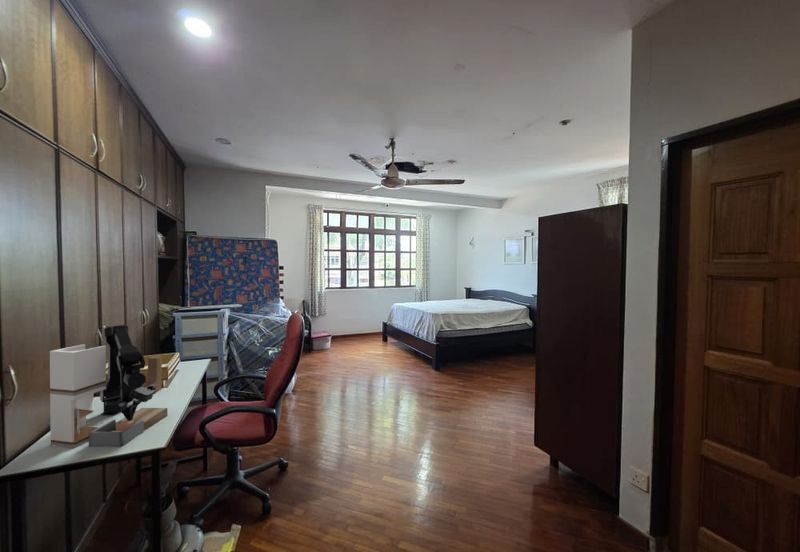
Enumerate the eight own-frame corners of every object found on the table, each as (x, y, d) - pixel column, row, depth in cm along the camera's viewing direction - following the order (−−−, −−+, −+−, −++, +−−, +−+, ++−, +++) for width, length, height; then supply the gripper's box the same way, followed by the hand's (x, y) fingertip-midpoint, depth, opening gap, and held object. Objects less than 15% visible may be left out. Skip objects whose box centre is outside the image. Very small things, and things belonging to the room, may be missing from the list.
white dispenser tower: (74, 448, 124) (73, 352, 123) (50, 445, 126) (49, 351, 125) (106, 433, 136) (105, 345, 135) (84, 430, 137) (83, 344, 137)
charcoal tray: (88, 446, 126) (88, 433, 125) (113, 432, 137) (113, 419, 136) (121, 446, 126) (121, 433, 126) (143, 432, 137) (143, 419, 137)
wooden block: (151, 395, 176) (151, 360, 175) (142, 395, 175) (141, 360, 175) (161, 389, 185) (161, 355, 184) (152, 389, 184) (152, 356, 184)
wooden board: (114, 431, 137) (114, 423, 137) (142, 415, 152) (142, 407, 152) (142, 431, 137) (142, 423, 137) (167, 415, 152) (167, 407, 152)
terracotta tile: (120, 433, 135) (115, 436, 132) (120, 420, 135) (115, 423, 132) (134, 433, 135) (129, 436, 133) (133, 420, 135) (129, 423, 132)
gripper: (132, 390, 128) (132, 431, 128) (165, 375, 146) (165, 411, 147) (102, 390, 128) (102, 431, 128) (139, 375, 146) (139, 411, 147)
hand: (130, 420), depth 137 cm, fingers closed
